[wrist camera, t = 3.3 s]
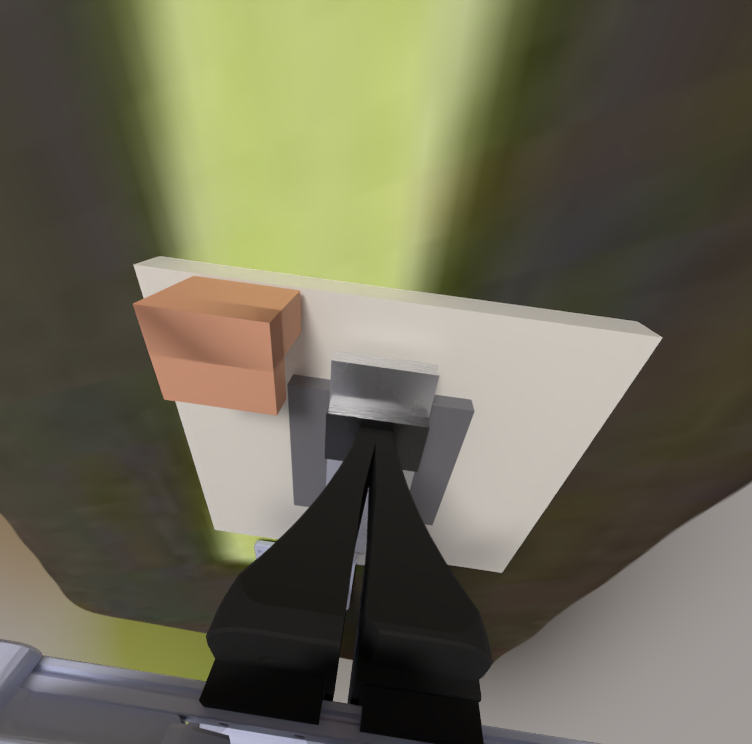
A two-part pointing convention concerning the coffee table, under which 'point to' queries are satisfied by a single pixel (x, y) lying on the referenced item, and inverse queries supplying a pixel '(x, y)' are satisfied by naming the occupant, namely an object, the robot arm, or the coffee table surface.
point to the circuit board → (447, 416)
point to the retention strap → (378, 412)
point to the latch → (221, 342)
